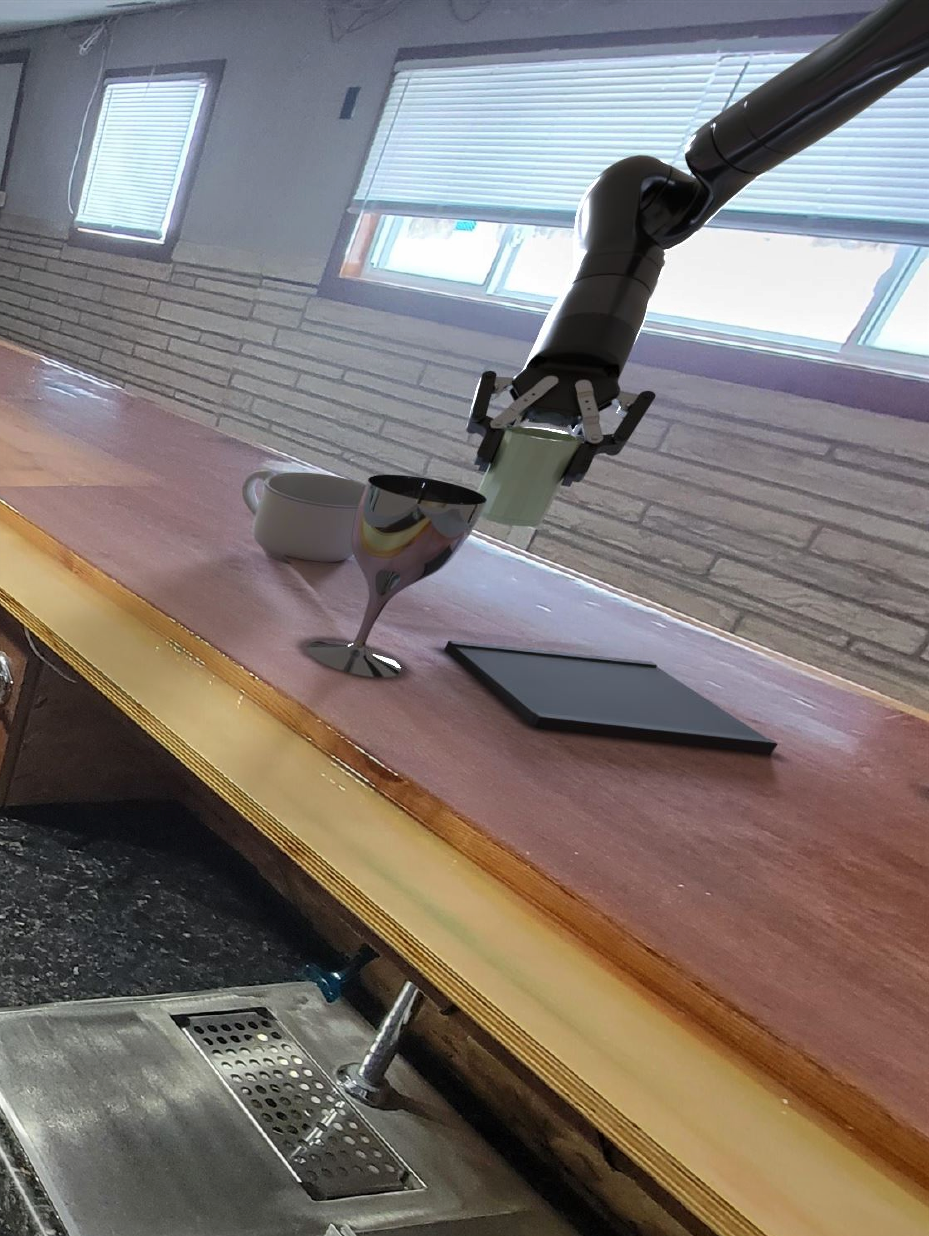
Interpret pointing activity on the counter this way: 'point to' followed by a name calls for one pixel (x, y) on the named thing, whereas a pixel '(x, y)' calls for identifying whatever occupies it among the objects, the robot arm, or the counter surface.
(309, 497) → the teacup
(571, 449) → the cup
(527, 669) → the bar mat
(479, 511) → the wine glass
